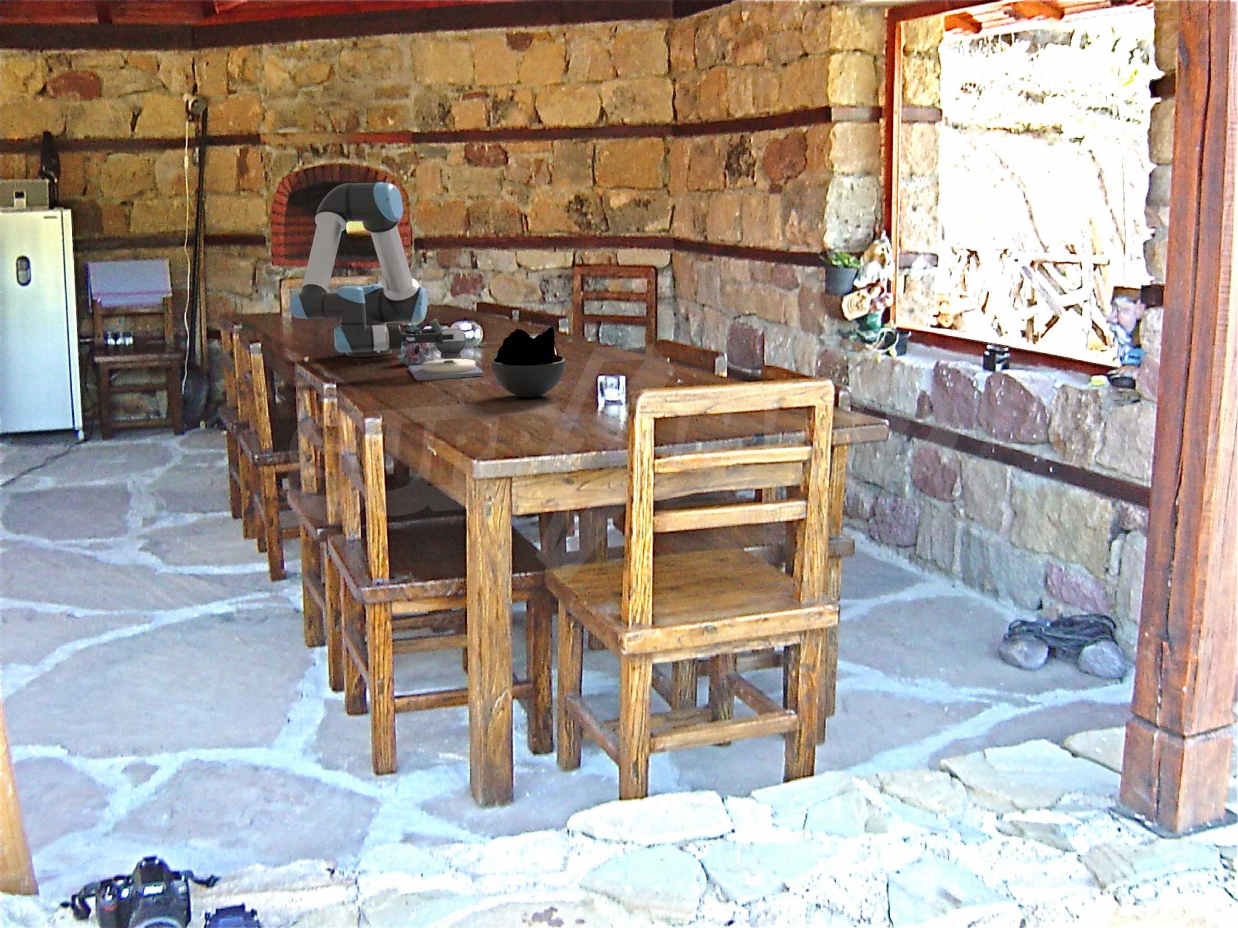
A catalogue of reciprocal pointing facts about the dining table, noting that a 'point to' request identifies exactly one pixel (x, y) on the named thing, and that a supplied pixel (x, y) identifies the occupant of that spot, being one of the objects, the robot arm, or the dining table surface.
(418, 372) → the carrier board
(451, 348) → the mortar and pestle
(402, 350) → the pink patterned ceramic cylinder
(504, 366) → the coal bowl
